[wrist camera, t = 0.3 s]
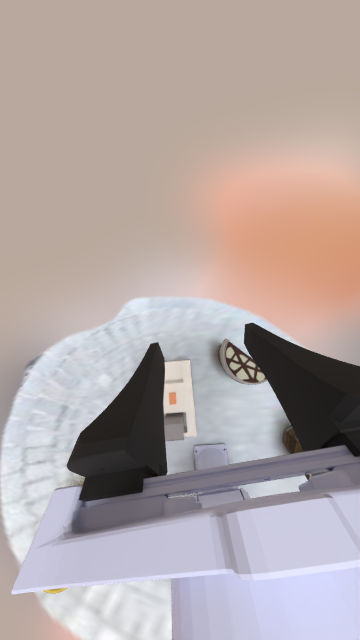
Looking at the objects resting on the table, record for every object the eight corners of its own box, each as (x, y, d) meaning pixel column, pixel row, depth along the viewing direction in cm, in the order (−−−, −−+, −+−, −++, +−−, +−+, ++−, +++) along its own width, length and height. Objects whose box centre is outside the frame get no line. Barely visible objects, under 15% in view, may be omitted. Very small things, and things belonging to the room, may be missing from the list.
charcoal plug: (184, 423, 37) (184, 439, 30) (167, 424, 37) (163, 441, 30) (183, 410, 37) (182, 423, 30) (166, 411, 37) (162, 425, 31)
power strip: (195, 427, 37) (197, 438, 33) (157, 429, 38) (153, 441, 33) (189, 359, 41) (189, 360, 36) (154, 362, 41) (150, 364, 36)
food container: (204, 358, 41) (210, 360, 31) (217, 341, 42) (227, 338, 32) (241, 387, 39) (260, 400, 29) (254, 369, 40) (276, 375, 30)
